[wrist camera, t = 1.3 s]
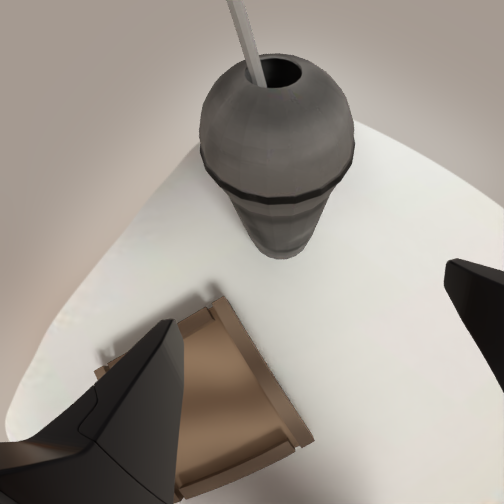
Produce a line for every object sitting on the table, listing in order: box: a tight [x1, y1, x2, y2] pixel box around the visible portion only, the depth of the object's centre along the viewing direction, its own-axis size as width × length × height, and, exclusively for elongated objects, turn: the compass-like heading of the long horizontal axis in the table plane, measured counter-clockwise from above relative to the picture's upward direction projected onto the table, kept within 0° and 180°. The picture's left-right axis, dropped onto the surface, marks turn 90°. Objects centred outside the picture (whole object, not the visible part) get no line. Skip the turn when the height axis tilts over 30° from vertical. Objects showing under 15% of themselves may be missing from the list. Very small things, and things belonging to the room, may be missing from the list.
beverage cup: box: [199, 0, 355, 259], centre depth 15 cm, size 7×7×20 cm
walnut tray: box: [94, 296, 315, 503], centre depth 20 cm, size 12×12×2 cm
